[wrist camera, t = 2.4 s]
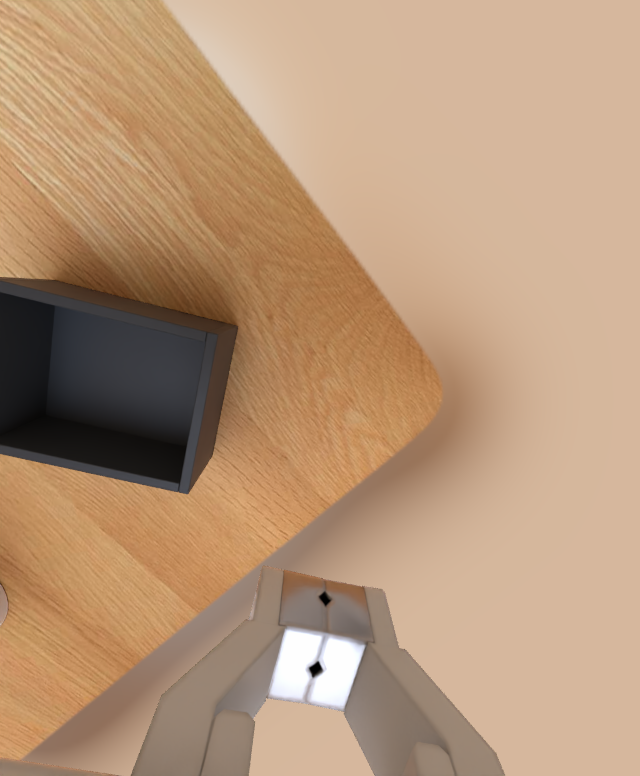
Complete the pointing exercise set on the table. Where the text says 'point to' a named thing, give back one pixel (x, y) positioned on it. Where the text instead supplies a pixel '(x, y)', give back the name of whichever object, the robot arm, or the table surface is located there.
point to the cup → (3, 605)
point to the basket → (109, 383)
